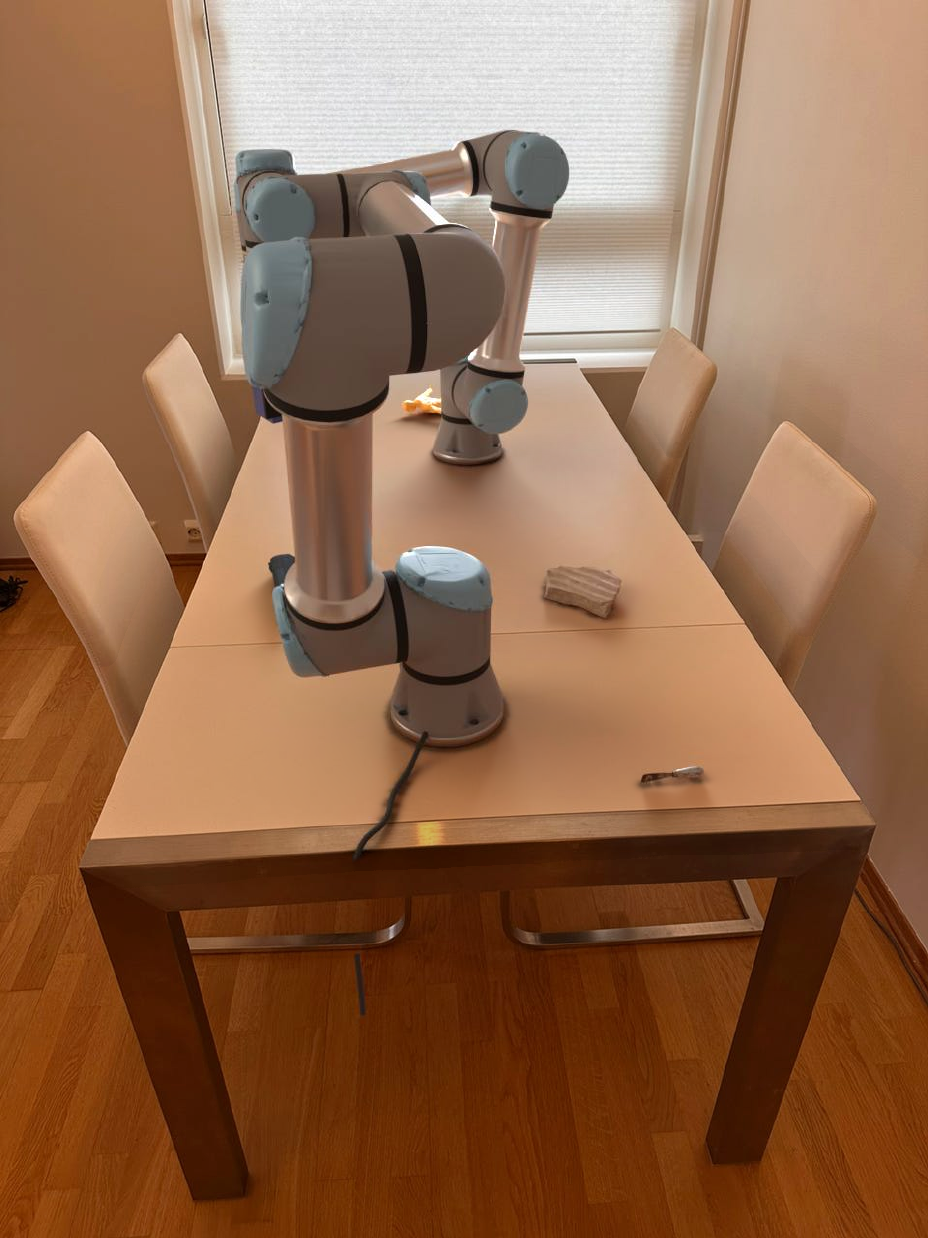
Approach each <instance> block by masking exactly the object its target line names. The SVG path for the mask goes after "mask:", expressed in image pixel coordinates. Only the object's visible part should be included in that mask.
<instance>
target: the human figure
mask: <svg viewBox="0 0 928 1238" xmlns="http://www.w3.org/2000/svg"><path fill="white" fill-rule="evenodd" d="M424 391H425V392H423V393H422V394H420V395H418V396H416V398H415V399H414V400H404V401H403V402H402V411H404V412H405V413H410V414H412V413H414V412H417V408H418V409H420V410H421V411H423V412H424V413H427V414H439V415H441V398H434V397H429V396H430V395H432V394H433V392H434V391H433V389H432V385H429V387H428V389H424Z"/></svg>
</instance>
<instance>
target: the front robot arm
mask: <svg viewBox="0 0 928 1238" xmlns="http://www.w3.org/2000/svg"><path fill="white" fill-rule="evenodd" d="M234 161H235V171H236V176H235V181H236V183H237V184H238V191H239V199H240V206H241V214H242V220H243V227H244V234H245V245H246V251H247V256H245V258H244V259H245V261H244V263H242V268H241V269H242V270H241V279H240V297H239V298H240V304H239V305H240V312H239V313H240V314H239V315H240V326H241V351H242V361H243V368H244V373H245V376H246V380H247V382H248V383H249V385H250V386H251V387H252V386H254V387H259V388H261V389H262V397H263V405H264V413H265V418H266V419H272V418H276V417H281V416H282V419H283V422H282V428H283V440H284V451H285V462H286V474H287V484H288V497H289V506H290V507H289V509H290V519H291V530H292V540H293V541H292V543H293V551H294V553H293V554H294V557H295V563H294V564H293V565H292V566H291V567H290V569H289V570H288V572H287V574H286V578H285V582H284V584H281V585H280V586H277V587H275V586H274V587H273V589H272V591H271V597H272V598H271V599H272V606H273V609H274V610H273V611H274V615H275V620H276V624H277V629H278V632H279V634H280V639H281V643H282V647H283V651H284V654H285V657H286V660H287V661H286V662H287V663H288V666H289V668H290V670H291V672H292V673H293V674H294V675H296V676H297V677H300V678H314V677H321V678H322V677H323V678H325V677H330V676H332V675H338V674H343V673H349V672H355V671H361V670H367V669H372V668H377V667H384V666H389V665H390V666H391V665H396V664H399V672H398V675H397V678H396V681H395V684H394V687H393V690H392V693H391V696H390V703H389V706H390V718H391V721H392V724H393V725H394V727H395V728H396V729H397V731H398V732H399V733H400V734H402V735H403V736H404V737H406V738H407V739H409V740H411V741H413V742H415V743H417V744H416V747H415V749H414V751H413V753H412V755H411V757H410V760H409V762H408V765H407V766H406V768H405V770H404V772H403V773H402V775H401V777H400V778H399V779H398V781H397V782H396V783H395V785H394V787H393V788H392V789H391V792H390V794H389V797H388V801H387V806H386V810H385V812H384V815H383V817H382V818H381V819H380V821H379V822H378V823H377V824H376V825H375V826H373V827H372V828H371V829H370V830H369V831H367V832H366V833H365V834H364V836H362V838H361V839H360V841H359V843H357V846H356V849H355V851H354V854H353V860H355V861H357V860H359V859H360V858H361V857H362V856H361V855H362V853H363V851H364V848H365V846H366V845H367V843H368V842H369V841H370V839H371V838H372V837H374V836H375V835H376V834H377V833H378V832H379V831H381V830H382V829H383V828H384V827H385V826H386V825H387V823H388V822H389V820H390V818H391V816H392V813H393V809H394V804H395V800H396V797H397V795H398V793H399V791H400V789H401V788H402V787H403V785H404V784H405V783H406V781H407V780H408V778H409V776H410V774H411V773H412V771H413V770H414V769H413V768H414V767H415V765H416V762H417V760H418V758H419V755H420V753H421V751H422V749H423V746H424V745H425V746H430V747H437V748H454V747H455V748H457V747H463V746H467V745H471V744H473V743H476V742H480V741H481V740H483V739H485V738H486V737H488V736H489V735H491V734H492V733H493V732H494V731H495V730H496V729H498V727H499V726H500V724H501V722H502V720H503V717H504V697H503V693H502V690H501V687H500V685H499V682H498V679H497V677H496V674H495V672H494V668H493V666H492V664H491V654H492V653H491V651H492V649H491V648H492V647H491V645H492V643H491V642H492V641H491V640H492V606H493V604H494V598H493V594H492V582H491V581H492V580H491V574H490V572H489V570H488V568H487V567H486V566H485V564H484V563H483V562H482V561H481V560H480V559H478V558H477V557H475V556H473V555H471V554H470V553H467V552H464V551H462V550H459V549H456V548H452V547H448V546H447V547H446V546H438V545H437V546H436V545H435V546H434V545H433V546H432V545H428V546H418V547H413V548H410V549H408V550H407V552H406V551H405V552H403V553H401V554H400V556H399V557H398V558H397V561H396V563H395V566H394V569H389V570H382V569H381V568H380V567H379V565H378V564H377V563H376V562H375V561H374V560H373V435H374V434H373V430H374V429H373V425H374V424H373V423H374V422H373V421H374V419H373V417H374V416H373V415H374V413H376V412H377V411H378V410H380V409H381V408H382V406H383V405H384V404H385V403H386V402H387V399H388V396H389V393H390V376H391V377H392V376H401V375H402V376H403V375H411V374H420V373H429V372H436V371H440V369H442V368H446V367H449V366H451V365H453V364H455V363H457V362H459V361H460V360H462V359H464V358H466V357H467V356H468V355H470V354H471V353H472V352H473V351H474V350H476V349H477V348H478V347H479V346H480V345H481V344H482V343H483V342H484V341H485V340H486V338H487V337H488V336H489V334H490V333H491V332H492V330H493V329H494V327H495V325H496V323H497V321H498V319H499V317H500V315H501V312H502V309H503V305H504V300H505V292H506V284H505V275H504V271H503V268H502V264H501V262H500V260H499V258H498V256H497V254H496V252H495V251H494V249H493V248H492V245H491V244H490V243H489V242H488V241H487V240H486V239H485V238H483V237H482V236H481V235H480V234H479V233H478V232H476V231H475V230H473V229H471V228H470V227H468V226H465V225H463V224H458V223H454V222H453V223H452V222H451V223H450V222H448V221H447V220H446V219H445V218H444V217H443V216H442V215H440V214H439V212H437V211H436V210H434V209H433V208H432V201H431V199H432V198H431V199H430V192H429V187H428V186H427V181H426V179H425V177H424V176H423V175H422V174H421V173H419V172H407V171H400V170H392V171H390V172H371V173H350V174H326V173H311V174H310V173H307V174H305V173H304V174H298V172H297V169H296V163H295V157H294V154H293V153H292V152H291V151H290V150H287V149H282V148H281V149H280V148H279V149H278V148H275V149H274V148H260V149H257V148H256V149H247V150H246V149H245V150H242V151H239V152H238V153H237V154H236V155H235V159H234ZM265 418H264V419H265ZM266 419H265V420H266ZM353 957H354V959H353V960H354V965H355V966H354V967H355V975H356V984H357V993H358V1003H359V1015H360V1016H362V1017H364V1016H366V1013H367V1012H366V999H365V990H364V980H363V969H362V962H361V953H356V954H354V955H353Z"/></svg>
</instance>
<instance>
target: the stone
mask: <svg viewBox="0 0 928 1238" xmlns="http://www.w3.org/2000/svg"><path fill="white" fill-rule="evenodd" d="M621 584H622V578H620V577H619V576H617V575H615V574H614V573H612V570H611V569H601V568H598V567H595V566H581V567H573V566H563V565H562V566H561V565H560V566H558V567H547V569H546V574H545V593H544V598H545V599H547V600H550V601H555V602H558V603H562V604H563V605H572V606H576V607H579V608H581V609H584V610H586V611H588V612H589V613H592V614H593V615H596V616H598V617H601V618H603V619H607V618H608V615H609V614H610V612H611V609H612V604H614V603H615V600H616V599H617V596H618V594H619V592H620V590H621Z"/></svg>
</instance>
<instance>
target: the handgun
mask: <svg viewBox="0 0 928 1238" xmlns="http://www.w3.org/2000/svg"><path fill="white" fill-rule="evenodd" d="M294 563H295V555H292V554H290V553H284V554H281V553H280V554H277V555H273V556H272V557H271V558H270V559H269V561H268V562H267V565H268V570H269V572H270V573H271V575H272V581H273V585H274V588H275V587H277V586H280V585H281V584H284V582H285V578H286V574H287V572H288V570H289V569H290V567H291V566H292V565H293V564H294Z"/></svg>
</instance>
